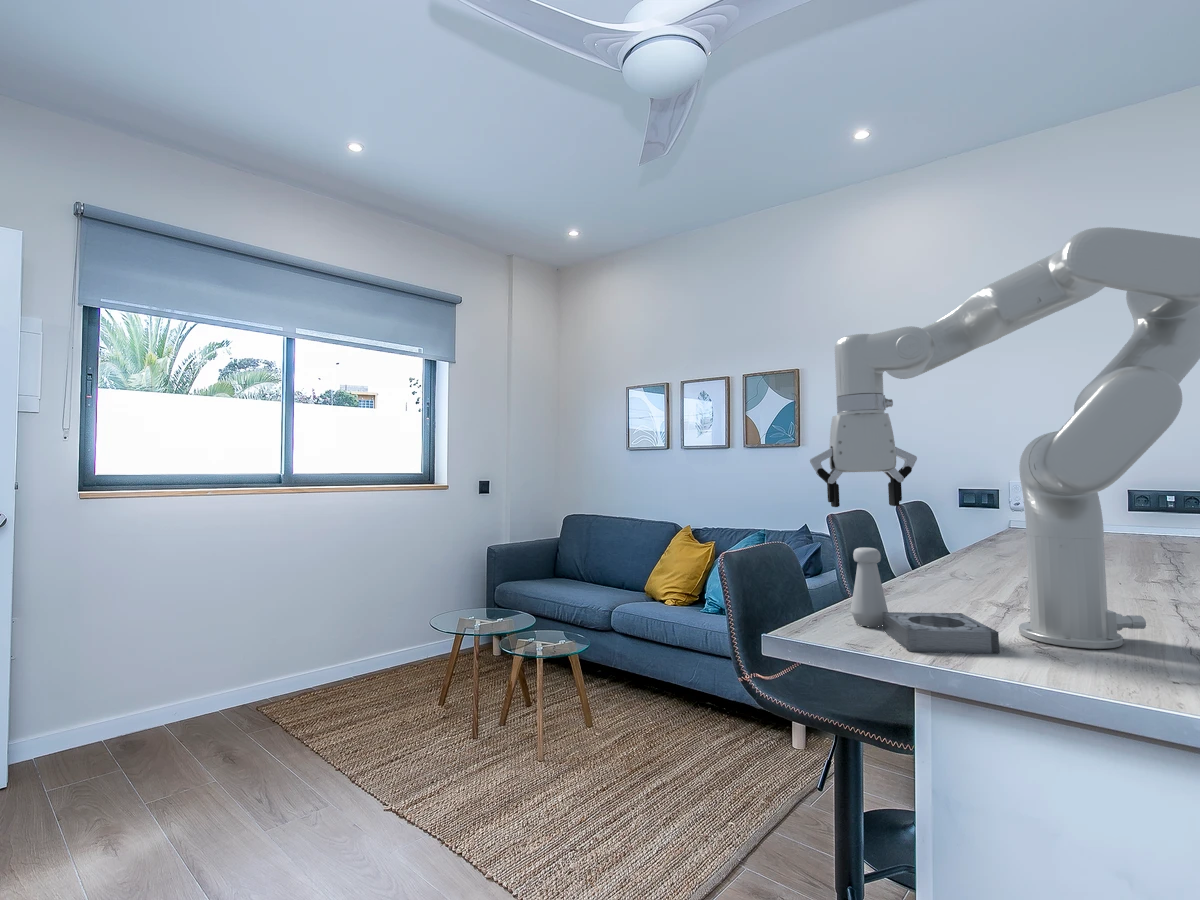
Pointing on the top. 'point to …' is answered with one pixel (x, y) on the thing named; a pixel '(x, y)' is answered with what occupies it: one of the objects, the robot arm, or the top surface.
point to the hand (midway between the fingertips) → (864, 506)
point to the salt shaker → (868, 589)
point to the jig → (940, 632)
